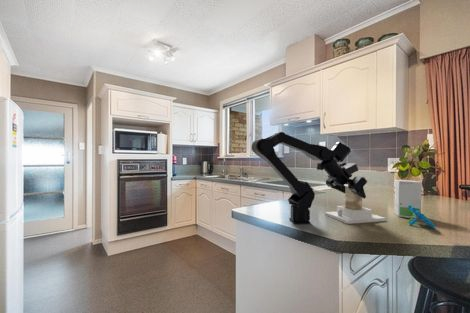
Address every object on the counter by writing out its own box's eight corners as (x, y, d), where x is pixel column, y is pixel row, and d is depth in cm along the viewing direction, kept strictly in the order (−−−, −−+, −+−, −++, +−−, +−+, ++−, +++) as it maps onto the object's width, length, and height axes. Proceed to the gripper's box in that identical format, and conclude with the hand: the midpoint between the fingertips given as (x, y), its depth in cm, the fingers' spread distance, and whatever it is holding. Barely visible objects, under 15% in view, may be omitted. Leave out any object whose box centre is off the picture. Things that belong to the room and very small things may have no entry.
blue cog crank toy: (441, 227, 77) (414, 204, 81) (426, 238, 79) (400, 215, 83) (430, 223, 87) (407, 203, 91) (417, 233, 89) (395, 212, 93)
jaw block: (353, 216, 93) (353, 187, 93) (345, 213, 97) (345, 186, 97) (362, 215, 94) (362, 187, 94) (354, 213, 98) (354, 185, 99)
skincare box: (398, 217, 97) (398, 180, 97) (393, 213, 103) (393, 179, 103) (422, 219, 94) (422, 181, 94) (416, 215, 100) (416, 180, 100)
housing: (347, 223, 87) (347, 213, 87) (324, 214, 100) (324, 205, 100) (385, 221, 91) (385, 210, 91) (359, 212, 105) (359, 203, 105)
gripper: (363, 156, 86) (386, 184, 88) (331, 156, 104) (351, 179, 106) (345, 177, 84) (370, 205, 86) (316, 173, 102) (337, 197, 105)
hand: (356, 195), depth 96 cm, fingers open, 9 cm apart
